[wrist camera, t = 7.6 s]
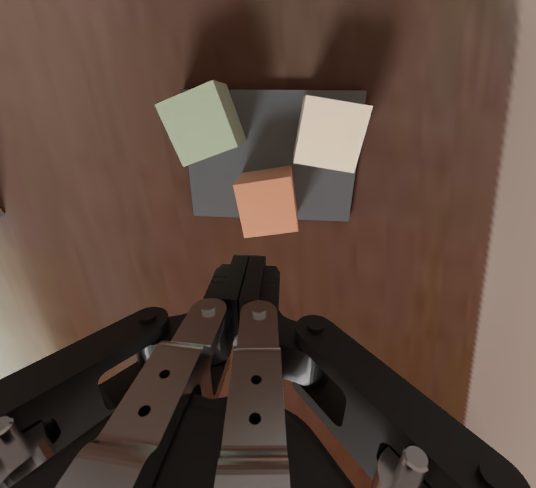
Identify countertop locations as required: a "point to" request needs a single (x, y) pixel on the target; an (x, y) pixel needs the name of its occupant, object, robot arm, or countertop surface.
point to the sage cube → (201, 122)
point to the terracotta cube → (266, 202)
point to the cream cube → (330, 133)
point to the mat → (272, 157)
